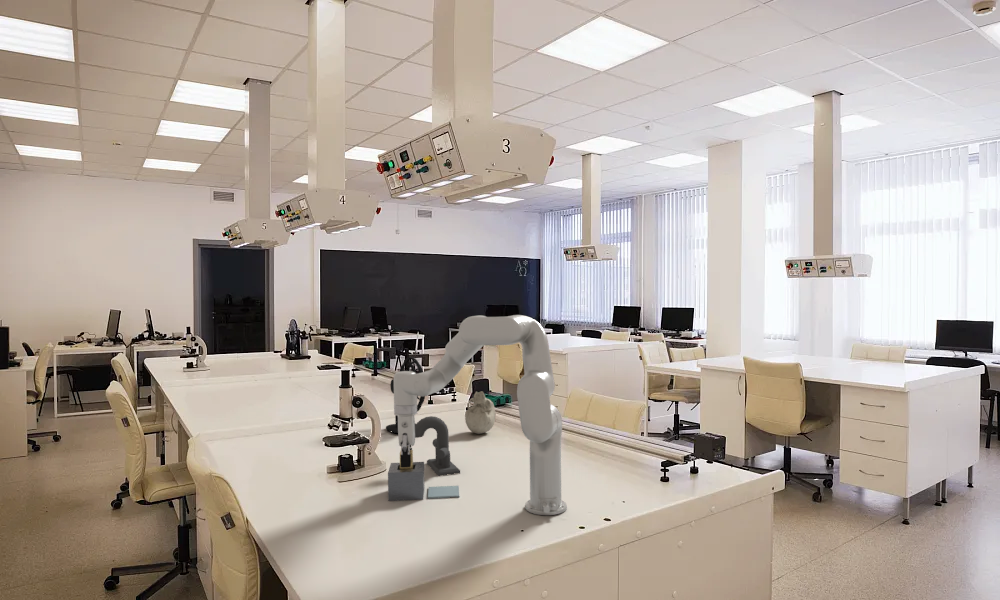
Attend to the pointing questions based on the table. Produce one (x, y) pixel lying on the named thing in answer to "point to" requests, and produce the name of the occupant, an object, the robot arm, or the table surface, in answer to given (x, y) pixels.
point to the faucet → (437, 445)
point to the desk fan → (395, 426)
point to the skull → (480, 414)
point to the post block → (406, 482)
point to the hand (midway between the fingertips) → (406, 463)
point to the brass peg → (411, 462)
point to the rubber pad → (443, 492)
